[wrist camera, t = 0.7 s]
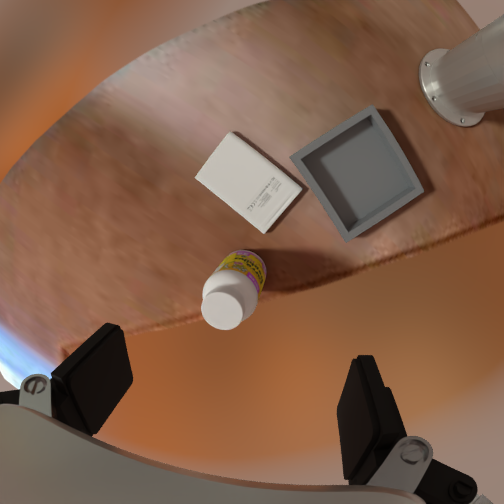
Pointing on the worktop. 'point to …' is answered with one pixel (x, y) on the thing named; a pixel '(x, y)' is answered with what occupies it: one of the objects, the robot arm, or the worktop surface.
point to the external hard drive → (248, 182)
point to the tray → (358, 173)
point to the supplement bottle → (233, 290)
